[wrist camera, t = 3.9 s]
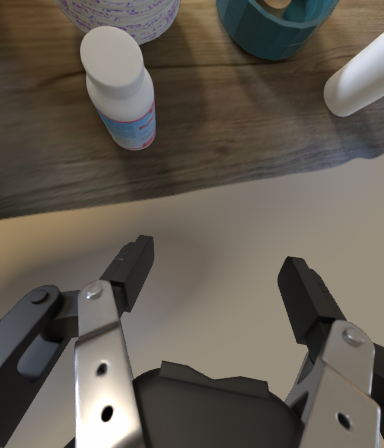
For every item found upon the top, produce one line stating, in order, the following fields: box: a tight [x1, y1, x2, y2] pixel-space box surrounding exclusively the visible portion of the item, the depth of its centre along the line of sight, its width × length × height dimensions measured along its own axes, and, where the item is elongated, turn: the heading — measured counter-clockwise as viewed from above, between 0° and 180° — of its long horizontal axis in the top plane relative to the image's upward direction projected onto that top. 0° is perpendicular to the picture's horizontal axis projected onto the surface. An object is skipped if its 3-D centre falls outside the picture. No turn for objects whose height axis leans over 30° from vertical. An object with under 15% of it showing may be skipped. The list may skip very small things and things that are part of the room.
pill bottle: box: [80, 26, 156, 150], centre depth 19 cm, size 6×6×11 cm
